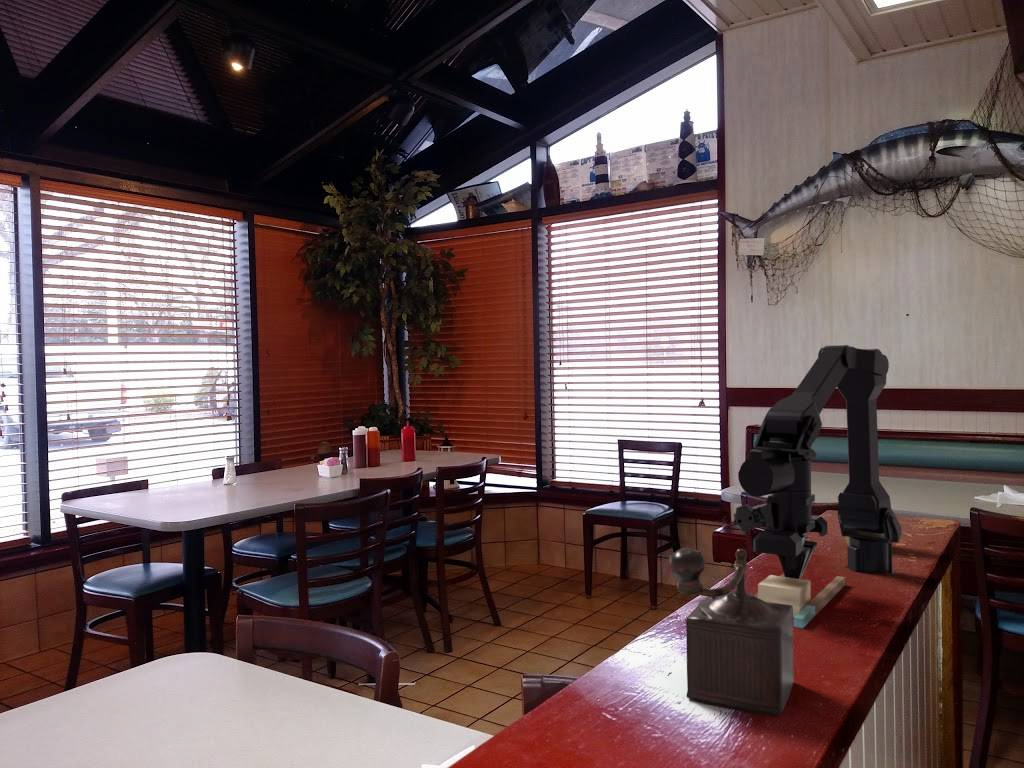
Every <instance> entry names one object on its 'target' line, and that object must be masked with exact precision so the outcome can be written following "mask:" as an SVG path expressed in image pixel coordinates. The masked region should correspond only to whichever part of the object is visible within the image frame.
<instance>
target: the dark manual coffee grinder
mask: <svg viewBox="0 0 1024 768" xmlns="http://www.w3.org/2000/svg"><path fill="white" fill-rule="evenodd" d="M735 558H736V560H735V561H734V572H733V574H732V576H731V578H730V580H729V582H728V583H727V584H726V585H723V586H721V587H717V588H704V586H703V583H702V582H701V580H700V576H701V574H702V573H703V571H704V570H705V568H706V560H705V557H704V556H703V553H702V552H701V551H699V550H696V549H693V548H690V547H682V548H679V549H678V550H676V551H675V552H673V553H672V554H670V555H669V560H668V561H669V564H670V565H669V566H670V568H671V572H672V574H673V575H675V576H676V578H677V579H678V581H677V583H676V588H677V591H678V592H679V593H682V594H685V595H697V596H702V597H705V598H704V599H702V600H700V601H699V602H698V604H697V605H696V607H695V608H694V609H693V610H692V611H691V612H690V613H689V615H688V616H687V617H686V620H685V625H686V681H687V683H686V684H687V685H686V686H687V692H686V695H685V696H686V698H687V699H690V700H694V701H697V702H699V701H700V702H699V703H704V704H707V705H710V704H711V706H716V707H720V708H725V709H730V710H735V711H739V712H745V713H748V714H749V713H750V714H756V715H766V716H772V717H779V715H780V714H781V713H782V712H783V711H784V709H785V707H786V705H787V702H788V700H789V698H790V695H791V691H792V688H793V685H794V682H795V680H794V679H795V677H794V617H793V606H792V605H785V604H778V603H771V602H764V601H763V600H761V599H759V598H757V597H755V596H754V595H753V594H750V593H747V590H746V582H745V580H746V579H745V577H746V570H747V569H748V561H747V558H748V553H747V551H746V550H745V549H744V548H737V550H736V551H735ZM734 589H735V590H734Z"/></svg>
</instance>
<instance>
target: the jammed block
mask: <svg viewBox="0 0 1024 768" xmlns="http://www.w3.org/2000/svg"><path fill="white" fill-rule="evenodd" d="M757 593H758V598H759V599H761V600H763V601H764V602H771V603H778V604H785V605H792V606H793V618H794V617H795V616H796V615H797V614H798V613H799V612H800V611H801V610H802V609H803V608H804V607H805V606H806V605H807V604H808V603H809V602H810V601H811V600H812V597H811V595H812V593H811V580H809V579H802V578H801V579H795V578H788V577H781V576H780V575H773V574H770V575H768V576H767V577H766V578H764V579H763V580H761V581H760V582H759V583H758V584H757Z"/></svg>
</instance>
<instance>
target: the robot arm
mask: <svg viewBox="0 0 1024 768" xmlns="http://www.w3.org/2000/svg"><path fill="white" fill-rule="evenodd" d="M889 363H890V362H889V359H888V357H887V356H886V354H883V352H882V351H881V350H880V349H878V348H857V347H854V346H850V345H848V344H842V345H841V344H840V345H836V344H835V345H825V346H824V347H820V349H819V351H818V355H817V359H816V360H814V363H813V364H812V366H811V367H810V369H809V370H808V372H807V373H806V374H805V376H804V377H803V379H802V380H801V382H800V383H799V384H798V386H797V387H796V389H795V390H794V392H792V393H791V394H790V395H788V396H787V397H784V398H782V399H779V400H778V401H777V402H775V404H774V405H773V406H771V407H770V408H769V410H768V411H767V412H766V414H765V416H764V418H763V420H762V423H761V425H760V428H759V431H758V434H757V435H756V438H755V441H754V444H753V446H752V449H751V450H750V451H749V453H750V454H749V458H747V459H745V461H744V462H743V463H742V464H741V465H740V468H739V470H738V475H737V476H738V481H739V485H740V487H741V489H742V490H744V492H745V493H747V494H748V495H750V496H752V497H756V498H758V497H764V496H767V497H766V498H765V501H766V502H764V503H762V504H758V505H755V506H751V505H750V504H749V503H747V504H745V505H740V506H737V507H736V508H735V513H734V514H733V524H734V525H736V526H738V528H739V531H740V533H741V534H742V533H746V532H748V531H749V530H752V529H756V528H761V527H764V526H765V529H764V530H763V531H760V532H759V533H758V534H757V535H755V537H753V538H752V540H753V541H752V543H753V544H752V549H753V550H752V551H753V552H755V553H760V554H767V555H773V556H774V555H776V556H777V557H778V560H779V563H780V566H781V569H782V573H784V576H785V577H788V578H795V579H802V577H803V575H804V573H805V570H806V568H807V566H808V564H809V562H810V560H811V558H812V556H813V553H814V552H815V549H816V547H817V546H818V542H817V541H812V540H809V537H808V536H806V535H807V534H809V533H818V536H819V537H824V536H827V535H828V521H827V520H826V519H824V517H823V516H821V515H813V514H812V503H815V501H816V494H814V493H812V460H811V459H813V458H816V457H817V453H816V451H815V450H814V449H812V445H813V444H814V443H815V441H816V440H817V438H818V436H819V434H820V431H821V429H822V427H823V422H822V418H821V413H822V411H823V408H824V407H825V405H826V404H827V403H828V401H829V399H830V398H831V397H832V395H833V393H835V390H836V389H837V390H838V391H839V392H840V393H841V395H842V397H843V398H844V400H845V404H846V407H845V408H846V423H847V424H846V428H847V430H846V431H847V455H848V457H847V458H848V461H847V462H848V483H847V485H846V486H845V488H844V490H843V491H842V492H839V494H838V496H837V501H838V509H837V518H838V524H839V528H840V533H841V537H844V538H845V537H846V536H847V537H850V545H849V546H848V545H847V565H844V568H845V569H849V570H851V571H853V572H855V573H868V574H892V575H899V571H895V570H893V544H894V543H900V540H901V536H902V526H901V524H900V522H899V520H898V518H897V516H896V515H895V513H894V510H893V509H892V505H891V503H892V502H891V497H890V494H889V493H888V491H887V490H886V489H885V488H884V486H883V485H882V483H881V481H880V467H879V463H880V462H879V442H878V441H879V438H878V435H879V434H878V409H877V408H878V407H877V406H878V405H877V404H878V403H877V402H878V401H877V399H878V397H879V396H880V395H881V394H882V391H883V390H884V388H885V387H886V384H887V374H888V371H889V368H890V365H889Z"/></svg>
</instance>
